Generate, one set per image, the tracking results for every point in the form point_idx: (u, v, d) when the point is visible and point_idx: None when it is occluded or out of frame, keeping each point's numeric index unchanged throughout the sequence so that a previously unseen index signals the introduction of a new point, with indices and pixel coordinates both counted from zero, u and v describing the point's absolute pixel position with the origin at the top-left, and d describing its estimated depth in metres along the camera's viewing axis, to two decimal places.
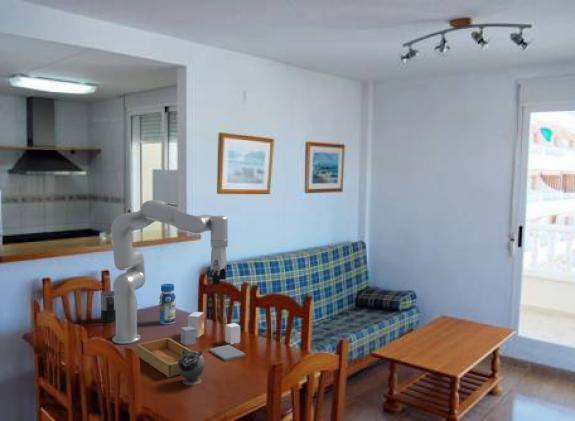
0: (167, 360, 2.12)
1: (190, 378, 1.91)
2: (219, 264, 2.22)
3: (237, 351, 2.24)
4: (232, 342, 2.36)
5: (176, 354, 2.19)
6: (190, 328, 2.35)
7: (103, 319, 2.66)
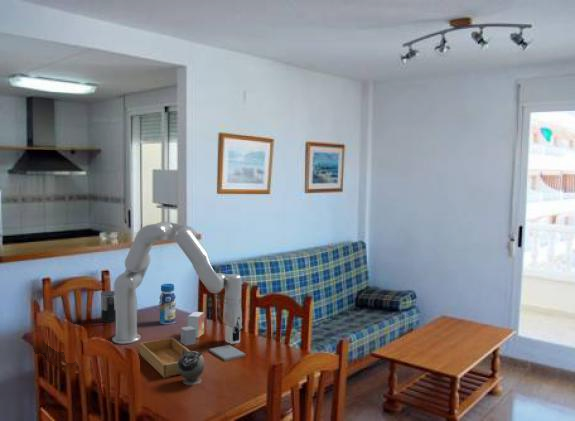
0: (167, 360, 2.12)
1: (190, 378, 1.91)
2: (241, 320, 2.35)
3: (237, 351, 2.24)
4: (232, 342, 2.36)
5: (178, 354, 2.19)
6: (190, 328, 2.35)
7: (103, 319, 2.66)
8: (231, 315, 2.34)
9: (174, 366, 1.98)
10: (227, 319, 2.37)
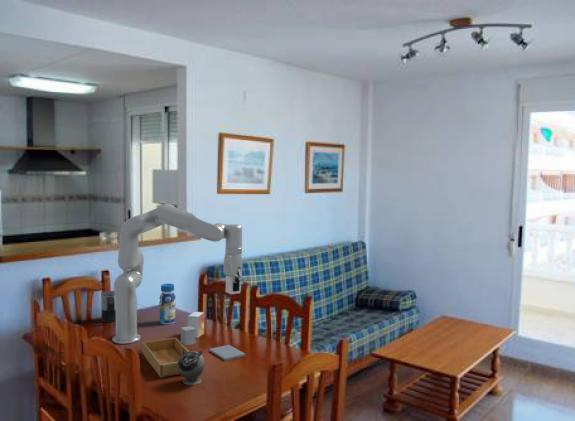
0: (167, 360, 2.12)
1: (190, 378, 1.91)
2: (241, 270, 2.34)
3: (237, 351, 2.24)
4: (232, 292, 2.34)
5: (179, 354, 2.19)
6: (190, 328, 2.35)
7: (103, 319, 2.66)
8: (231, 264, 2.32)
9: (171, 367, 1.98)
10: (227, 269, 2.35)
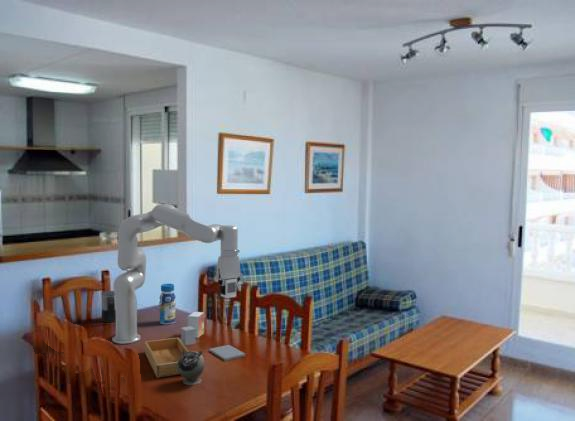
0: (167, 360, 2.12)
1: (190, 378, 1.91)
2: (220, 273, 2.24)
3: (237, 351, 2.24)
4: (221, 294, 2.29)
5: (180, 355, 2.19)
6: (190, 329, 2.35)
7: (104, 319, 2.66)
8: None
9: (168, 367, 1.98)
10: None
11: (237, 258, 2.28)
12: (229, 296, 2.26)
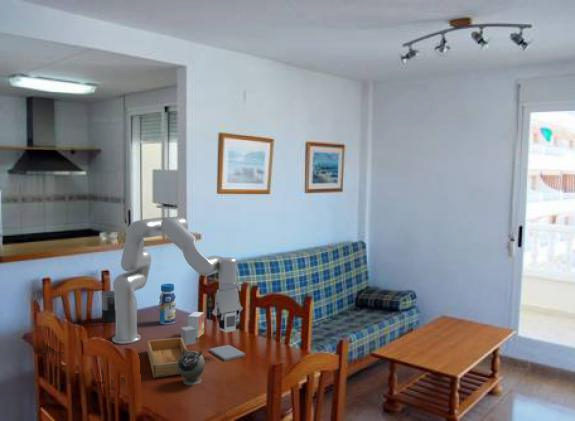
0: (167, 360, 2.12)
1: (190, 378, 1.91)
2: (219, 307, 2.18)
3: (237, 351, 2.24)
4: (220, 328, 2.23)
5: (181, 355, 2.18)
6: (190, 329, 2.35)
7: (104, 319, 2.66)
8: None
9: (165, 367, 1.97)
10: None
11: (236, 291, 2.22)
12: (228, 330, 2.20)
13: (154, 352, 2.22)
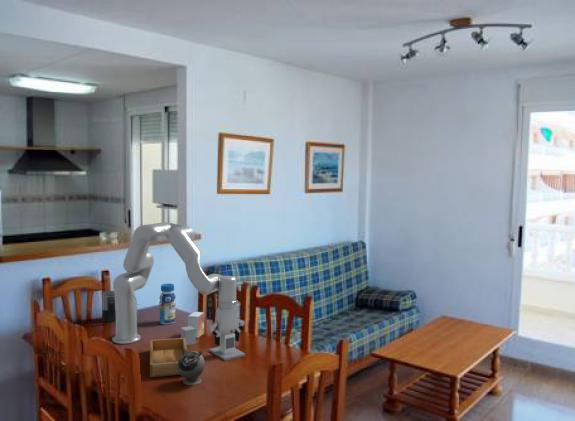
0: (167, 360, 2.12)
1: (190, 378, 1.91)
2: (218, 326, 2.19)
3: (237, 351, 2.24)
4: (220, 349, 2.23)
5: None
6: (190, 328, 2.35)
7: (104, 319, 2.66)
8: None
9: (161, 367, 1.97)
10: None
11: (236, 309, 2.22)
12: (227, 352, 2.21)
13: (156, 351, 2.22)
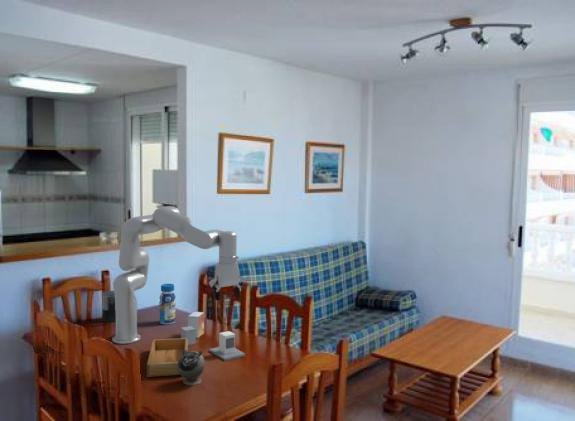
0: (167, 360, 2.12)
1: (190, 378, 1.91)
2: (218, 281, 2.18)
3: (237, 351, 2.24)
4: (220, 349, 2.23)
5: None
6: (190, 329, 2.35)
7: (104, 319, 2.66)
8: None
9: (158, 367, 1.97)
10: None
11: (236, 265, 2.21)
12: (227, 352, 2.21)
13: (158, 351, 2.23)
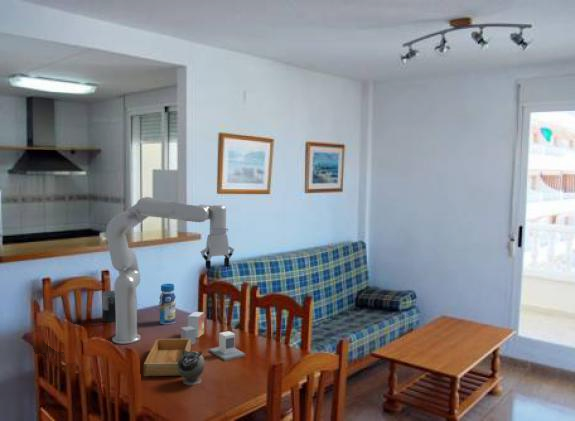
0: (167, 360, 2.12)
1: (190, 378, 1.91)
2: (209, 250, 2.36)
3: (237, 351, 2.24)
4: (220, 349, 2.23)
5: None
6: (190, 328, 2.35)
7: (105, 319, 2.66)
8: None
9: (155, 367, 1.97)
10: None
11: (225, 236, 2.40)
12: (227, 352, 2.21)
13: (161, 351, 2.23)
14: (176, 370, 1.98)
